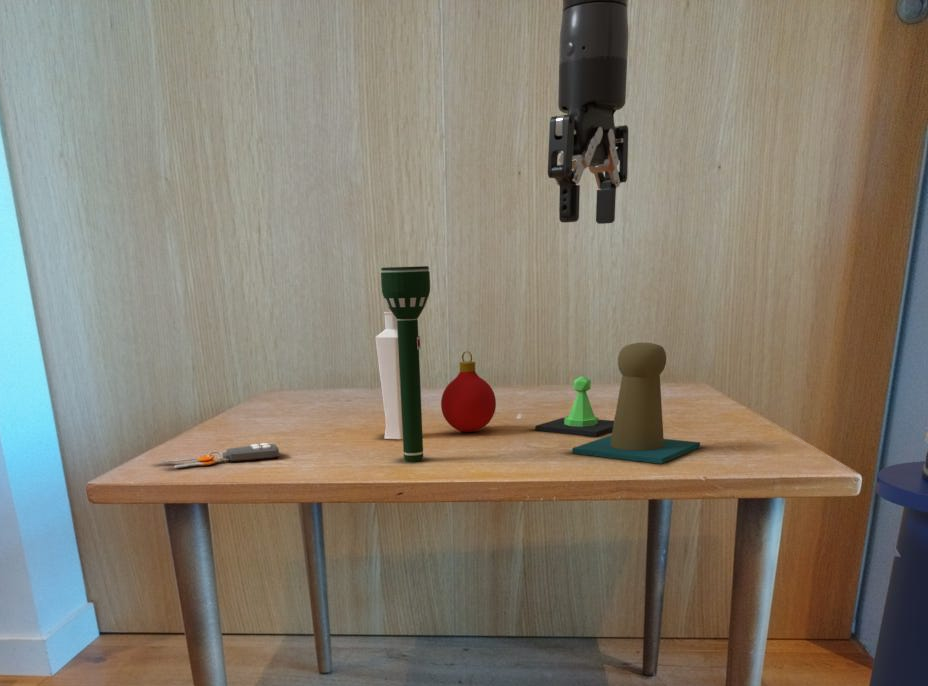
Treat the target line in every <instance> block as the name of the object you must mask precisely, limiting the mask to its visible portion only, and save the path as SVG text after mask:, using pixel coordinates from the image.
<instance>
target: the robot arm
mask: <svg viewBox="0 0 928 686" xmlns="http://www.w3.org/2000/svg"><path fill="white" fill-rule="evenodd" d="M628 6H629V0H562V6H561V7H562V12H561V24H560V30H559V43H558V44H559V45H558V46H559V47H558V90H557V91H558V92H557V93H558V95H557V96H558V97H557V98H558V99H557V107H558V110H559V112H561V113H563V114H562V115H561V114H560V115H555V116H551V117H550V120H549V136H548V153H547V155H548V157H547V176H548V178H549V179H554V180H555V182H556V185H557V186H558V187H559V204H558V205H559V206H558V212H559V213H558V214H559V215H558V216H559V217H558V219H559V222H560V223H576V222H578V221H579V219H580V195H581V194H580V193H581V192H580V191H581V184H579V183H580V181H581V178H582V175H583V173H584V170H585V169H587V168H588V170H589V172H590V173H591V174H593V175H594V178H595V182H596V185H597V188H598V189H597V190H596V206H595V209H596V210H595V222H596V223H597V224H600V225H601V224H602V225H603V224H604V225H605V224H613V223H614V221H616V220H615V219H616V199H617V188H619V187H620V185H621V184H622V183H626V182H627V180H628V170H629V169H628V166H629V165H628V161H629V126H628V125H626V124H624V125H615V117H614V115H615V113H616V111H620V110H621V109H623V108H624V106H626V100H627V99H626V96H627V76H628V58H629V57H628V55H629V54H628V53H629V34H630V33H629V20H628V18H629V17H628ZM559 154H560V157H559V158H558V156H559ZM558 159H559V160H558ZM558 161H559V163H560V164H558ZM618 166H619V169H618ZM925 433H926V434H925V437H924V438H925V439H924V442H925V443H927V444H928V427H926V432H925ZM925 461H926V463H925V464H924V467H923V472H922V478H923V479H925V480H926V481H928V451H927V452H926V456H925Z"/></svg>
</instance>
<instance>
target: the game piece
mask: <svg viewBox="0 0 928 686" xmlns="http://www.w3.org/2000/svg"><path fill="white" fill-rule="evenodd" d="M591 384H592V381H591V379H590V378H587V377H586V376H583V375H581V376H579V377H578V378H576V379H574V380H573V390H574V391H576V392H577V394H576V398H575V399H574V402H573V404H572V407H571V409H570V412H569V414H568V416H565V417H566V418H564V417H563V418H564V424H565V425H568V426H577V427H585V426H594V425H596V424H598V419H599V416H595V413H594V411H593V408H592V405H591V401H590V399H589V396H588V393H587V392H588V391H589V390H591Z"/></svg>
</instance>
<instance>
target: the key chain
mask: <svg viewBox="0 0 928 686" xmlns="http://www.w3.org/2000/svg"><path fill="white" fill-rule="evenodd" d="M213 454H218V455H220V457H217V458H215V455H213ZM279 456H280V449H279V447H278V446H277V445H276V444H274V443H269V442H262V443H260V444H259V443H252V444H250V445H248V446H238V447H232V448H227V449H226V451H225V452H221V451H219V450H211V451H209V452H207V454H206V455H200V456H199V457H192V458H191V457H190V458H179V459H172V460H163V461H162V463H163V464H166V463H178V462H179V463H180V462H188V461H189V463H182V464H176V465H174V466H173V468H175V469H179V468H180V469H181V468H186V467H187V468H188V467H193V466H209V465H213V464H215V463H220V462H222V461H223V460H228V461H229V462H242V461H243V462H244V461H253V460H262V459H263V460H264V459H273V458H277V457H279ZM190 461H195V462H190Z"/></svg>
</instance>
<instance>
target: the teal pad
mask: <svg viewBox="0 0 928 686" xmlns="http://www.w3.org/2000/svg"><path fill="white" fill-rule="evenodd" d="M611 437H612V434H610V435H607V436H604V437H601V438H597V439H596V440H595V439H594V440H592V441H589V442H587V443H584V444H581V445H578V446H575V447H572V450H571V451H572V454H574V455H575V454H576V455H583V456H592V457H601V458H608V459H609V458H610V459H617V460H623V461H624V460H626V461H634V462H641V463H642V462H643V463H649V464H650V463H651V464H659V465H663V464H664V463H665V464H666V463H667V462H669V461H671V460H674V459H677V458H679V457H682V456H683V455H686V454H688V453H691V452H693V451H695V450H698V449H700V448H701V442H699V441H690V440H681V439H670V438H664V446H663V447H662V448H659V449H653V450H623V449H617V448H613V447H611V446H610V442H611Z"/></svg>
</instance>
